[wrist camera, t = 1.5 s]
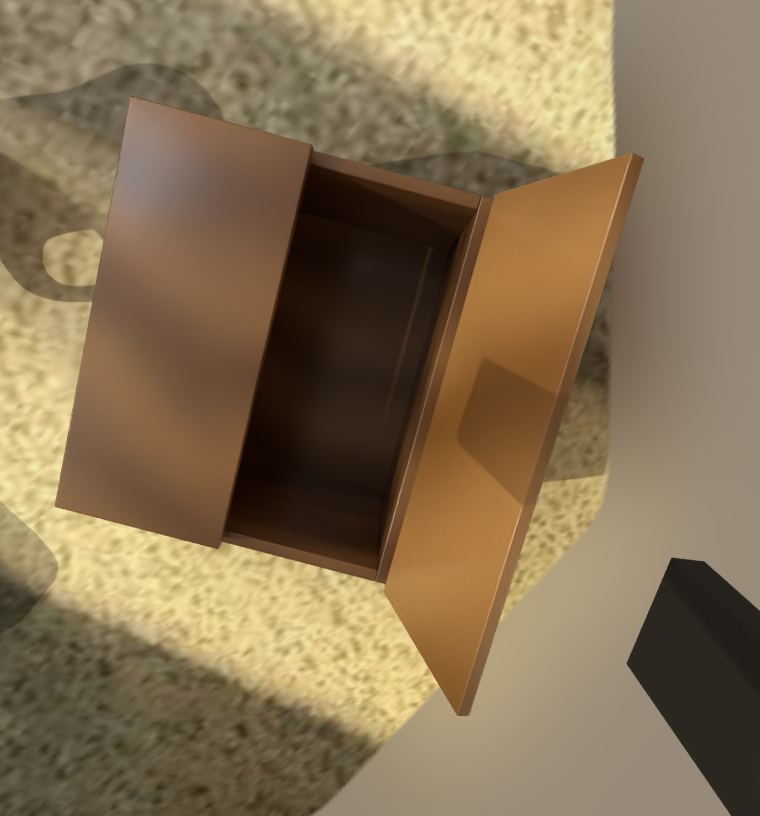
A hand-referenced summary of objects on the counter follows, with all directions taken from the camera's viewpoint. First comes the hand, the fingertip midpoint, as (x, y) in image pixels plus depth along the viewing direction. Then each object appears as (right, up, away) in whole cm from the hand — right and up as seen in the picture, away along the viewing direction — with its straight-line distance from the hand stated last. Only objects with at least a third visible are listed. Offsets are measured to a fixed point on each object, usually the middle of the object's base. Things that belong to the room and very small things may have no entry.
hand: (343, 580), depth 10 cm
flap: (+4, +3, +6) cm, 8 cm away
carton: (-3, +7, +20) cm, 22 cm away
